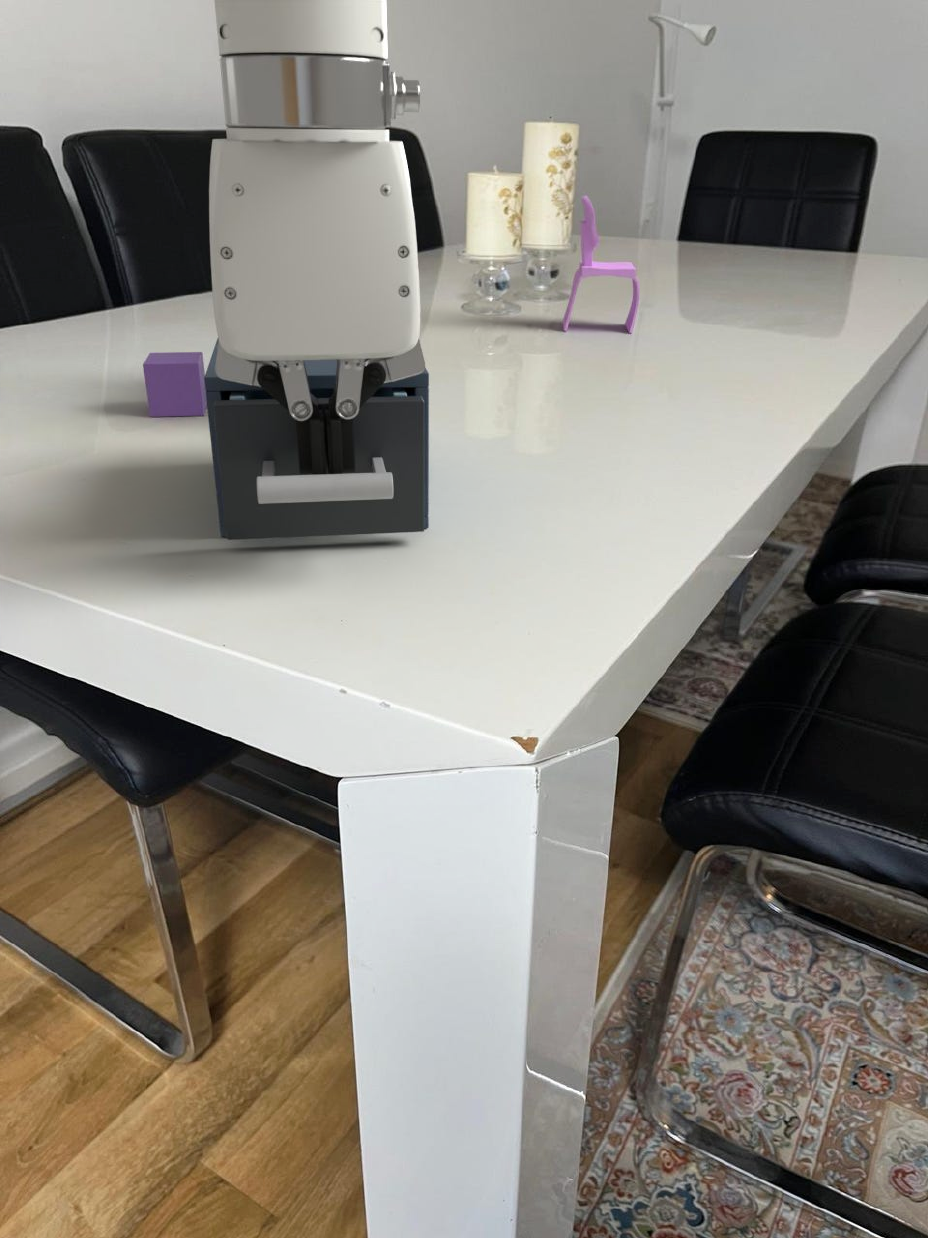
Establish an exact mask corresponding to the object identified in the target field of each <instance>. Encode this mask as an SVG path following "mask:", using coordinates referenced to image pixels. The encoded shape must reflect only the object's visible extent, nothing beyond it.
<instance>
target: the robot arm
mask: <svg viewBox="0 0 928 1238" xmlns="http://www.w3.org/2000/svg"><path fill="white" fill-rule="evenodd" d="M387 10H388V9H387V0H214V12H215V22H216V23H215V24H216V32H217V34H216V35H217V43H218V44H217V45H218V54H219V57H220V58H219V66H220V77H221V78H220V79H221V88H222V97H223V98H222V100H223V107H224V108H223V110H224V111H223V112H224V119H225V120H224V122H225V126H226V127H225V133H226V138H213V139H212V142H211V149H210V158H209V159H210V161H209V162H210V163H209V179H208V180H209V181H208V218H209V219H208V223H209V224H208V225H209V226H208V227H209V228H208V229H209V254H210V255H209V256H210V257H209V258H210V273H211V276H210V277H211V289H212V291H211V293H212V304H213V313H214V315H213V316H214V321H215V327H216V328H215V329H216V333H217V334H216V335H217V339H219V343H218V350H217V357H216V364H215V372H216V375H217V376H218V377H219V378H221V379H223V380H227V381H232V382H237V383H242V384H246V385H251V386H253V385H254V386H259V387H262V388H263V389H264V390H265V391H266V392H268V393H269V394H270V395H271V396H272V397H273V398H274V399H276V400H277V401H278V402H279V403H280V404H281V405H282V406H283V407H285V408H286V409H287V410H288V411H289V412H290V414H291V416H292V417H293V418H294V419H296V427H297V442H298V456H299V471H300V474H313V475H321V474H326V458H325V440H324V423H323V415H322V410H319V407H318V399H317V398H316V397H314V396H313V395H312V394H311V390H310V385H309V380H308V376H307V371H306V366H305V362H304V360H333V359H337V364H336V374H335V384H334V394H333V395H332V396H331V397H330V398H329V399H328V403H329V405H328V410H325V422H326V440H327V458H328V474H343V472H355V451H354V427H353V418H354V417H355V416H356V415H357V414H358V411H359V409H360V408H361V407H362V406H363V405H364V403H365V402H366V401H367V400H368V399H369V398H370V397H371V396H372V395H373V394H374V393H375V392H376V391H377V390H378V389H379V388H380V387H381V386H382V384H384V383H388V382H394V381H397V380H401V379H405V378H408V377H412V376H415V375H419V374H421V373H422V372H423V371H424V369H425V367H426V362H425V357H424V353H423V349H422V346H421V345H422V344H421V341H420V332H421V290H420V272H419V256H418V241H417V229H416V219H415V217H416V216H415V211H414V206H413V205H414V203H413V197H412V187H411V178H410V173H409V168H408V161H407V156H406V151H405V147H404V143H403V141H402V140H390V129H387V128H391V125H392V120H396V116H404V114H405V113H419V112H420V107H421V88H420V81H419V79H417V80H416V79H404V77H403V76H396V72H395V71H391V70H390V67H391V65H390V62H386V61H388V59H389V58H388V23H387V22H388V20H387V19H388V18H387V17H388V16H387V14H388V13H387ZM365 359H366V360H365ZM275 361H278V363H279V364H278V363H277V362H275Z"/></svg>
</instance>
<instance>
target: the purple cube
mask: <svg viewBox="0 0 928 1238" xmlns="http://www.w3.org/2000/svg"><path fill="white" fill-rule="evenodd" d="M204 363H205V362H204V353H203V352H202V351H188V352H187V351H186V352H185V351H184V352H183V351H182V352H180V351H179V352H175V351H173V352H171V351H170V352H149V353H148V355H147V357H146V358H145V360H144V361H143V363H142V369H143V376H144V383H145V391H146V398H147V406H148V407H147V408H148V413H149V417H150V418H162V417H163V418H164V417H166V418H167V417H168V418H171V417H204V415H205V413H206V409H207V401H206V390H205V382H204V377H205V374H206V371H205V364H204Z"/></svg>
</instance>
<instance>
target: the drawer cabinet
mask: <svg viewBox="0 0 928 1238" xmlns="http://www.w3.org/2000/svg"><path fill="white" fill-rule="evenodd" d="M218 343H219V339H218V338H217V339H216V342H215V345H214V348H213V350H212V354H211V356H210V360H209V363H208V365H207V368H206V371H205V377H204V382H205V390H206V401H207V406H206V409H207V418H208V427H209V437H210V444H211V445H210V447H211V456H212V465H213V477H214V484H215V485H214V486H215V493H216V494H215V495H216V503H217V514H218V523H219V532H220V537H221V538H227V535H226V525H225V516H224V506H223V496H222V486H221V476H220V467H219V457H218V447H217V437H216V427H215V418H214V408H213V407H214V403H215V401H216V400H230V395H231V391H247V390H264V389H263V388H262V387H259V386H254V385H253V386H251V385H246V384H242V383H237V382H232V381H227V380H223V379H221V378H219V377H218V376H217V375H216V372H215V364H216V357H217V350H218ZM365 360H366V359H365ZM275 362H277V363H278V361H275ZM304 362H305V366H306V371H307V376H308V380H309V385H310V389H334V384H335V374H336V364H337V359H333V360H304ZM278 364H279V363H278ZM396 387H404V389H405V391H406V394H407V396H422V398H423V401H424V529H429V525H430V524H429V522H430V521H429V520H430V519H429V517H430V516H429V515H430V513H429V511H430V508H429V507H430V506H429V505H430V503H429V502H430V500H429V499H430V497H429V496H430V493H429V492H430V489H429V486H430V477H429V476H430V466H429V465H430V459H429V458H430V456H429V455H430V451H429V450H430V446H429V445H430V418H429V417H430V388H429V387H430V373H429V371H428V369H427V368H426V366H425V369H424V371H423V372H422V373H421V374H419V375H415V376H412V377H408V378H405V379H401V380H397V381H394V382H388V383H384V384H382V386H381V387H380V388H396Z"/></svg>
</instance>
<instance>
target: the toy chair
mask: <svg viewBox="0 0 928 1238" xmlns="http://www.w3.org/2000/svg"><path fill="white" fill-rule="evenodd" d="M581 203H582V208H583V209H582V210H583V214H584V215H583V216H584V220H580V221H579V229H580V247H581V250H580V251H581V260H579V265H578V267H579V268H578V269H577V270H576V271H575V273H574V277H573V280H572V285H571V291H570V295H569V299H568V304H567V306H566V310H565V313H564V316H563V319H562V328H563V331H564V332H567V331H568V328H569V324H570V319H571V316H572V312H573V307H574V304H575V299H576V295H577V292H578V289H579V285H580V283H581V281H582V280H583V279H585V278H588V277H589V278H590V277H602V276H610V277H611V276H612V277H620V278H628V279H631V281H632V301H631V305H630V308H629V312H628V315H627V317H626V320H625V323H624V325H625V327H626V330H627V332H628V333H629V334H633V332H634V328H635V323H636V319H637V316H638V315H637V314H638V310H639V304H640V281H639V279H638V278H637V268H636V267H635V266H634V264H633V262H631V261H628V262H627V261H614V262H613V261H611V262H608V261H607V262H606V261H594V260H593V257H594V250H595V248H597V247H598V246H599V243H600V238H599V235H598V230H597V226H596V214H595V210H594V207H593V204H592V202H591V200H590V198H589V197H588V195H582V196H581Z"/></svg>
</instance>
